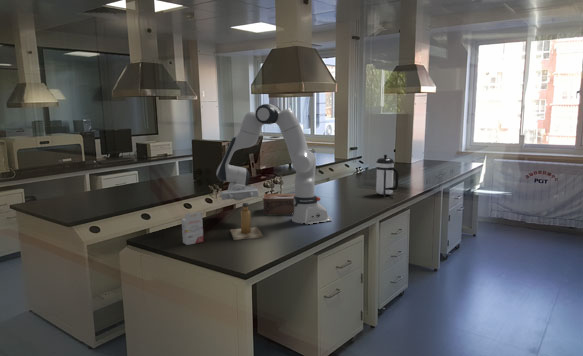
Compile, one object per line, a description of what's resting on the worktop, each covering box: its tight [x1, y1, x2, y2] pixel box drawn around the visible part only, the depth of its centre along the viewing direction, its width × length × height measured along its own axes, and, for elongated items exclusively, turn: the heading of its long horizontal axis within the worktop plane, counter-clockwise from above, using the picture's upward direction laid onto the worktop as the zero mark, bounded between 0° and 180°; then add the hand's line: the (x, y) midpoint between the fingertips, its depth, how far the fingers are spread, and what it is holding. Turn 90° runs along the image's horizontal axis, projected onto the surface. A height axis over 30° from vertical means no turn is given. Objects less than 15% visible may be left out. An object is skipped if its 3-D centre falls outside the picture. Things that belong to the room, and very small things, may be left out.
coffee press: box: [374, 154, 399, 196], centre depth 294 cm, size 17×16×30 cm
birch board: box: [230, 226, 263, 241], centre depth 201 cm, size 14×14×1 cm
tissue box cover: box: [262, 193, 295, 215], centre depth 247 cm, size 26×14×10 cm, turn 91°
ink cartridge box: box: [181, 211, 204, 246], centre depth 188 cm, size 9×5×15 cm, turn 126°
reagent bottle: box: [240, 202, 252, 234], centre depth 199 cm, size 5×5×15 cm
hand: (241, 196), depth 211 cm, fingers open, 8 cm apart
